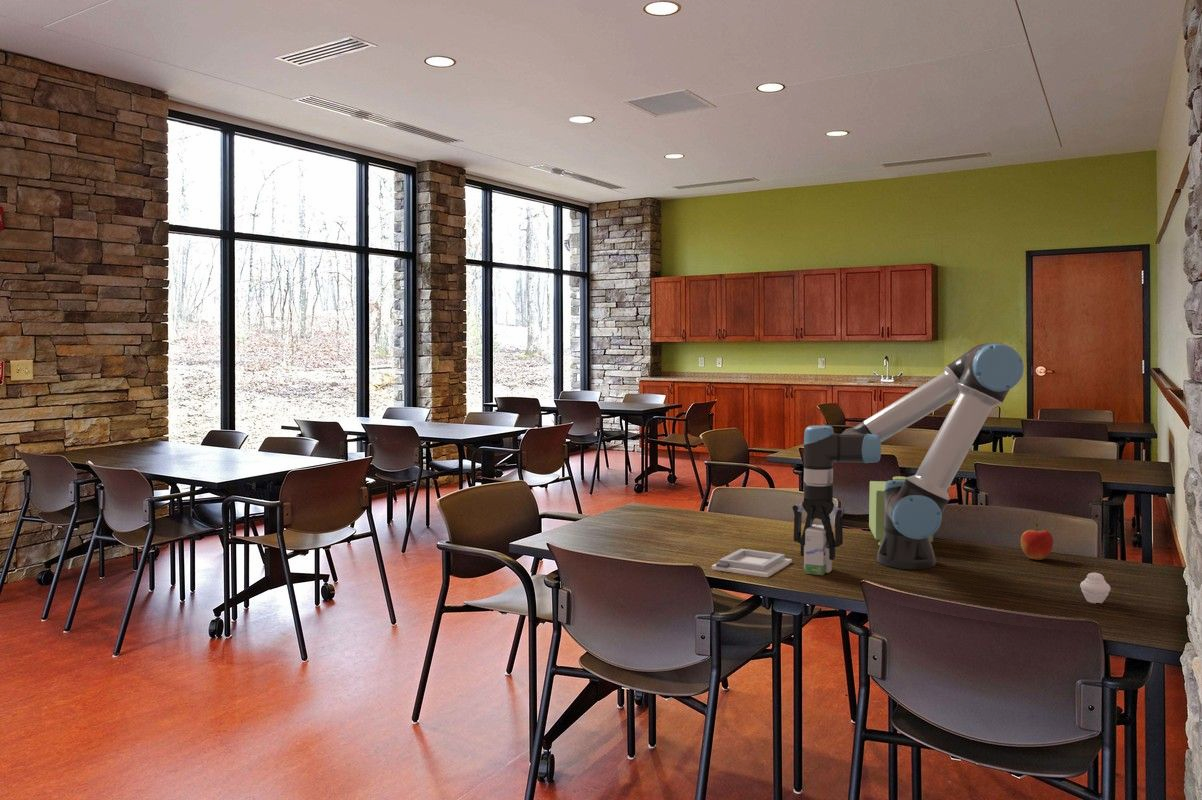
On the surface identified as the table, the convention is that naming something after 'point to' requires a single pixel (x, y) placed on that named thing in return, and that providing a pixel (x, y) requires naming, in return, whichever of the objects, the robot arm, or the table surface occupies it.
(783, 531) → the table surface
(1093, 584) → the muffin
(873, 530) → the container
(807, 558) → the ink box
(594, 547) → the table surface
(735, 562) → the white square tray
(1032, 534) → the apple
